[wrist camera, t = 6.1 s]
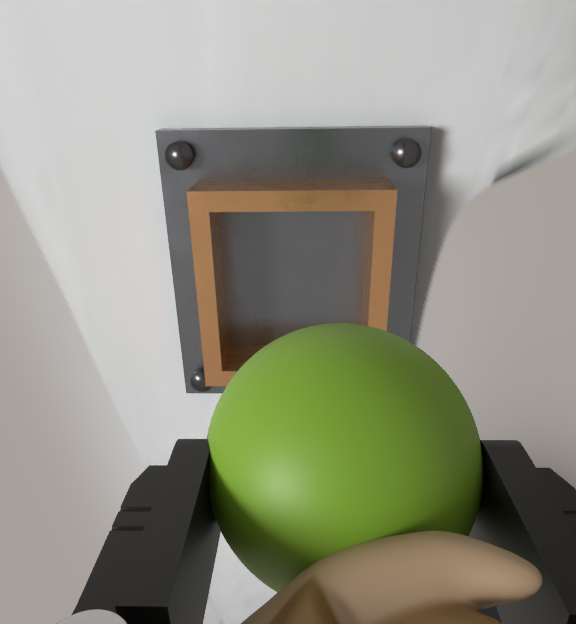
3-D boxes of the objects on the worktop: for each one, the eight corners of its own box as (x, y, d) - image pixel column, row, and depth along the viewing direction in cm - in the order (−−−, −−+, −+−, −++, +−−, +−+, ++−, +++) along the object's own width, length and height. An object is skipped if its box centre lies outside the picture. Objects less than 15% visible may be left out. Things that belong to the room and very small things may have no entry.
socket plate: (160, 128, 27) (137, 136, 23) (426, 125, 26) (446, 133, 22) (189, 384, 33) (175, 421, 30) (401, 385, 33) (414, 423, 29)
